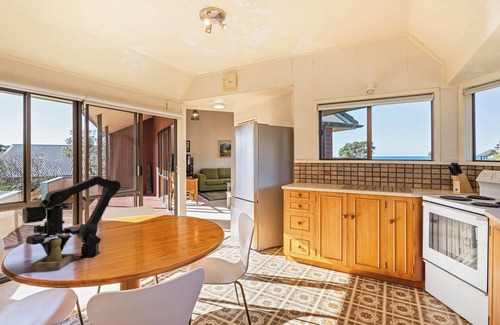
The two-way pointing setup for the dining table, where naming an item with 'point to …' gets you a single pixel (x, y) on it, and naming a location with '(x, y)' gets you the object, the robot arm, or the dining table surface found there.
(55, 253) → the cork
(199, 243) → the dining table surface
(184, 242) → the dining table surface
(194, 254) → the dining table surface
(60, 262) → the socket block
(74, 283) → the dining table surface
